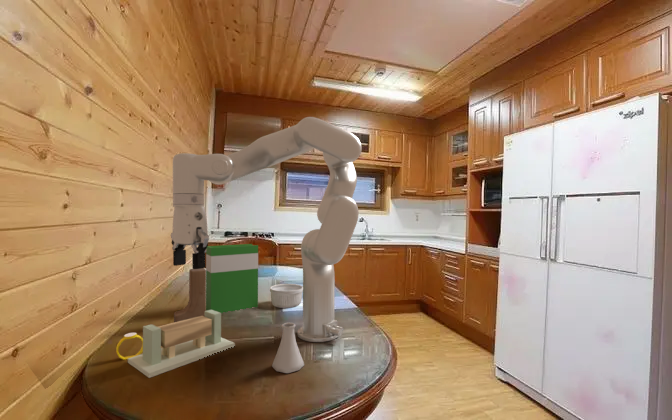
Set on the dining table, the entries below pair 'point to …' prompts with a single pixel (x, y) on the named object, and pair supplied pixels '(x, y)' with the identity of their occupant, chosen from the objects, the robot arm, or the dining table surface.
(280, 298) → the ramekin
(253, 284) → the green cereal box
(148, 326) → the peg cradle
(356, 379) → the dining table surface
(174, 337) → the tan wooden bar
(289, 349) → the flask
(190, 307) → the wooden block
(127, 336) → the watch
